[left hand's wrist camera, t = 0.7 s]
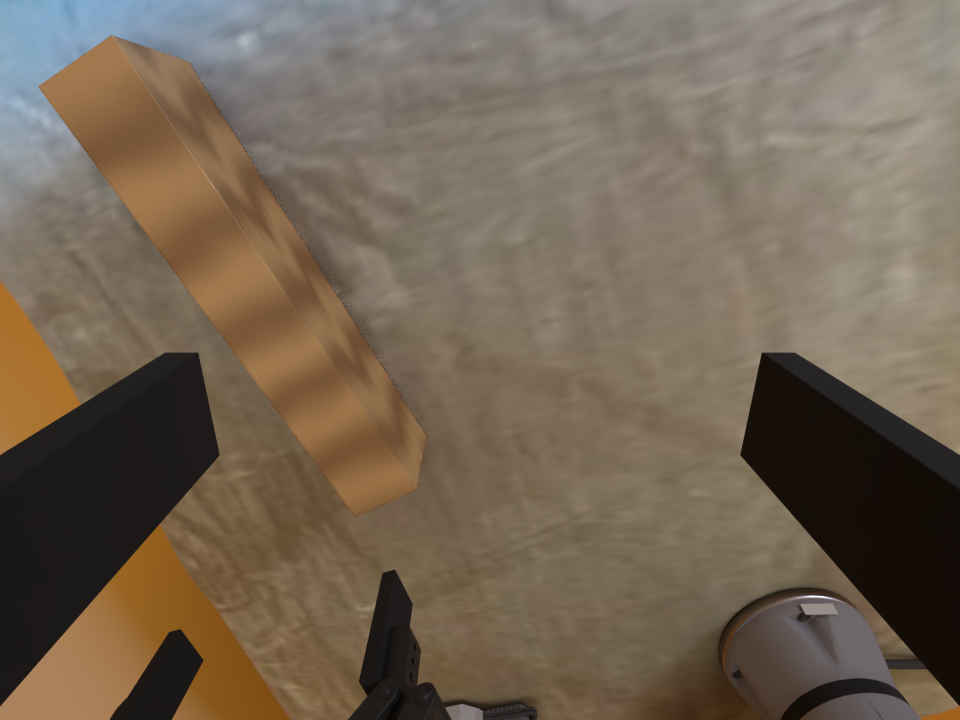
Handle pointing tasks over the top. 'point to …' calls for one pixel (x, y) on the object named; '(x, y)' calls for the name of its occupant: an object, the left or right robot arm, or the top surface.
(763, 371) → the left robot arm
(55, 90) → the bar
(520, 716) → the walkie-talkie
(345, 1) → the top surface
